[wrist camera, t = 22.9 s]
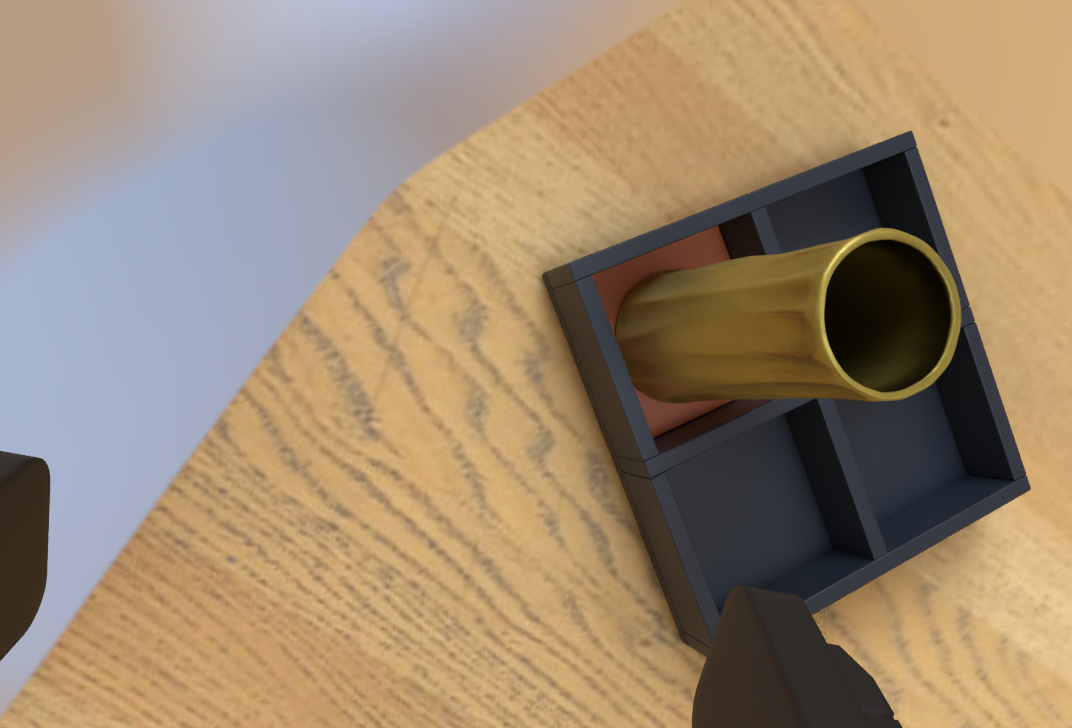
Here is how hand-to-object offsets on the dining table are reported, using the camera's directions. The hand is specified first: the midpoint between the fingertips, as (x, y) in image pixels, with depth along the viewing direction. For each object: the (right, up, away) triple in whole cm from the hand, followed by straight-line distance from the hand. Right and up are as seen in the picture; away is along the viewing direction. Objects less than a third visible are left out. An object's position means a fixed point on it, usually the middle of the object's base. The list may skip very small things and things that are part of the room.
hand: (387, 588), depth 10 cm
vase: (+8, +4, +29) cm, 30 cm away
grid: (+13, +2, +31) cm, 34 cm away
